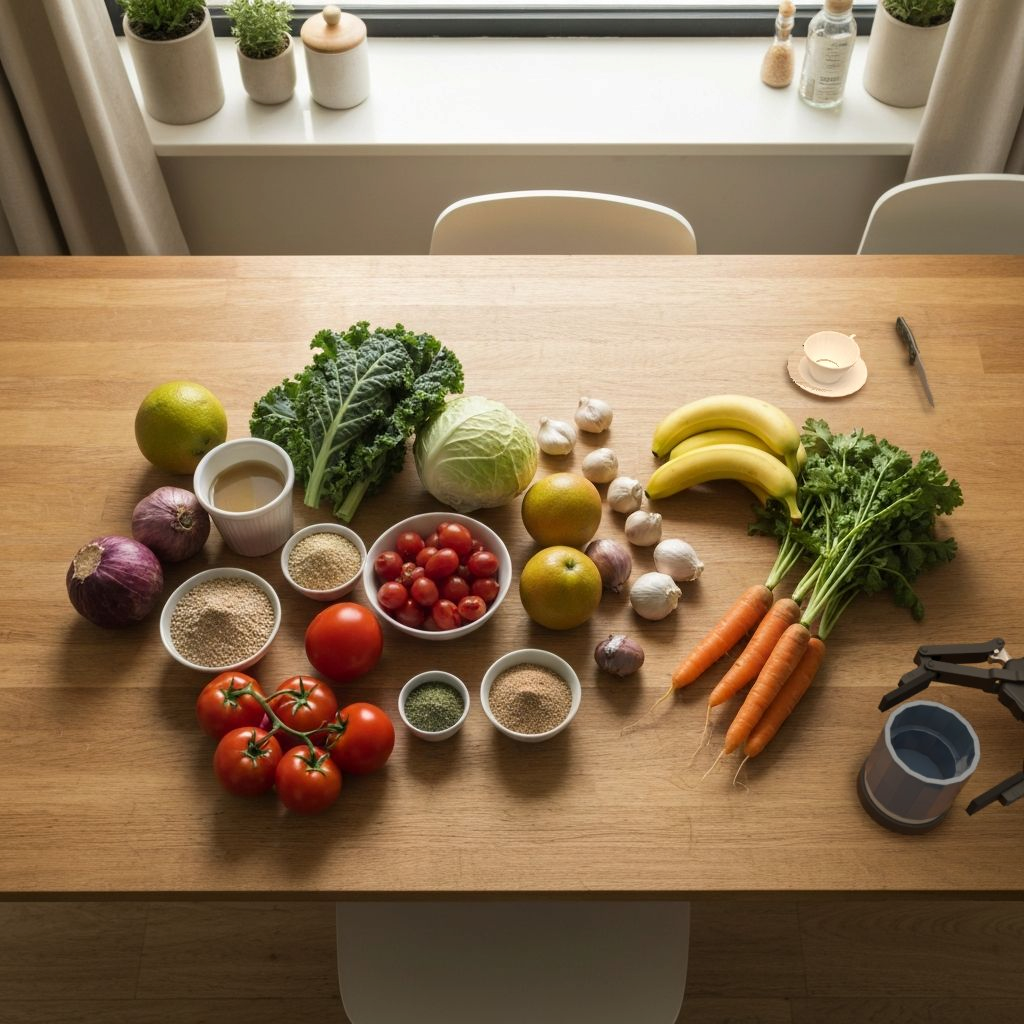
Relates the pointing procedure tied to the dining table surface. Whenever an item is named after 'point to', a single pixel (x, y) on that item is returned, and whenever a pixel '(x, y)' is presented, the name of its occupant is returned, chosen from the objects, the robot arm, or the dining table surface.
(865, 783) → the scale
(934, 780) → the cup
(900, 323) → the knife
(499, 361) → the dining table surface
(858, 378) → the teacup
